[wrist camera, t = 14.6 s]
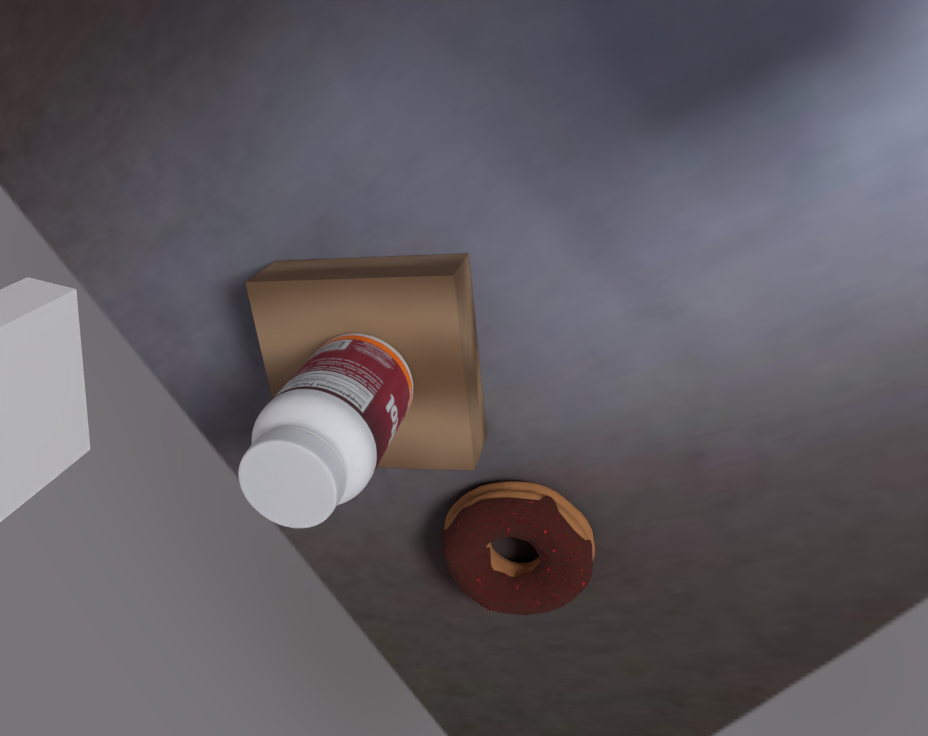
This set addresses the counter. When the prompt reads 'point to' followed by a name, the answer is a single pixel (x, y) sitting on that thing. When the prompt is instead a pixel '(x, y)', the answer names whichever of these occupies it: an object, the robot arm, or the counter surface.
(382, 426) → the pill bottle
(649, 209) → the counter surface
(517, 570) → the donut
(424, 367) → the tan flat block
